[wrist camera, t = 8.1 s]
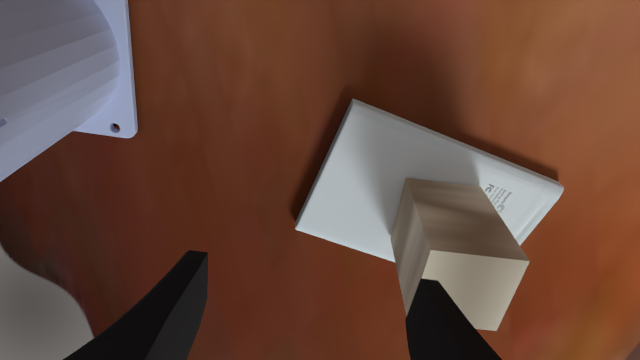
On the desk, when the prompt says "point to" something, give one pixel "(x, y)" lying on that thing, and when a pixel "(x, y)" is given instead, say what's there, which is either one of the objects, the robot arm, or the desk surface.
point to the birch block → (457, 249)
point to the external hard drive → (409, 162)
